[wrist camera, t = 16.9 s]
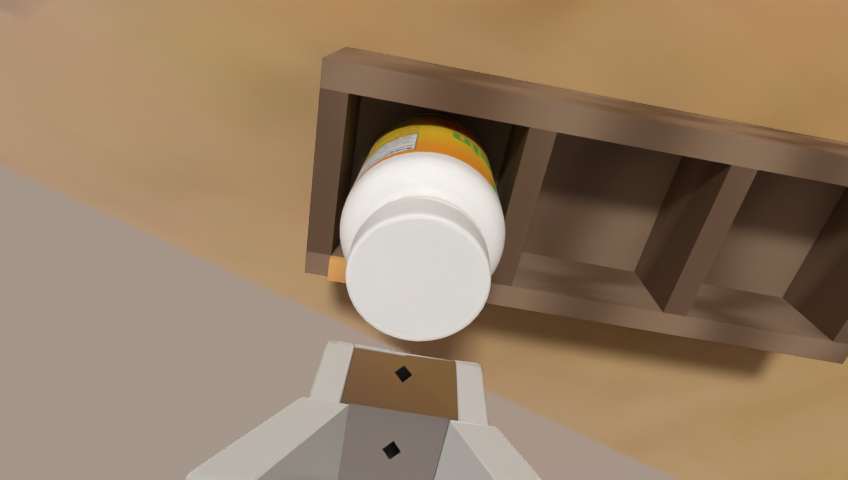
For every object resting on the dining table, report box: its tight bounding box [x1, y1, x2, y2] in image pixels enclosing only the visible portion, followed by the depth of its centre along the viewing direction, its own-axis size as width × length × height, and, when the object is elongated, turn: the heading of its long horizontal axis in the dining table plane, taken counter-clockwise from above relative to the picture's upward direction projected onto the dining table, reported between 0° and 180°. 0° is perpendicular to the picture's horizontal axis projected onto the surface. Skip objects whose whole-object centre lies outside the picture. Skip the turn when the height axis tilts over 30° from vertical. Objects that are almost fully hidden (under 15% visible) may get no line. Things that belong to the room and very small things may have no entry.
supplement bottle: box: [340, 113, 505, 341], centre depth 18 cm, size 5×5×10 cm
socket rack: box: [305, 47, 848, 364], centre depth 21 cm, size 24×9×5 cm, turn 80°
